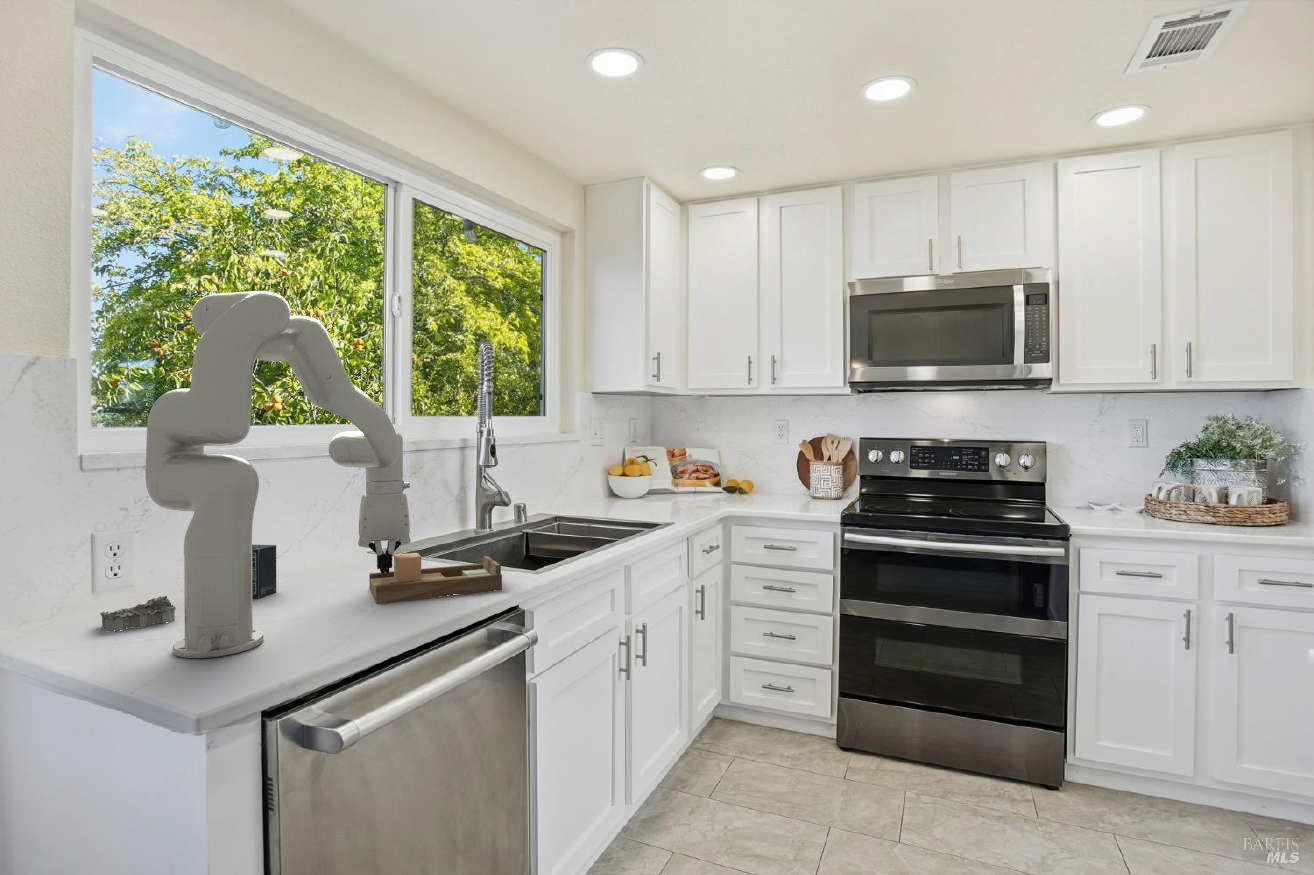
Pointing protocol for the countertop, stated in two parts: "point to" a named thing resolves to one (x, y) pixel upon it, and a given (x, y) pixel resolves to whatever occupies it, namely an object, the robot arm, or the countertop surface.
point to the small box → (263, 570)
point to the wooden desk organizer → (438, 582)
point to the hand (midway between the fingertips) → (384, 571)
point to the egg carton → (139, 615)
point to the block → (407, 566)
